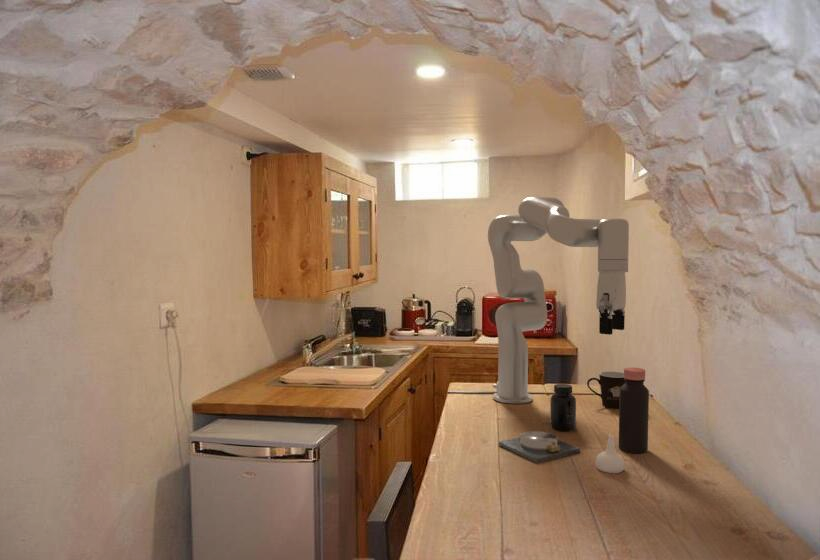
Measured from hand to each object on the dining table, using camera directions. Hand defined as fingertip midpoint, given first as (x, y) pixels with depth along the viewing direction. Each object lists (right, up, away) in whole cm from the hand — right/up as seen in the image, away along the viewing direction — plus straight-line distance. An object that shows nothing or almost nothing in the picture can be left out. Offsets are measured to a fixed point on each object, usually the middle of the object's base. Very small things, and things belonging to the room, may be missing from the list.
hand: (612, 331), depth 156 cm
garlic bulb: (-8, -30, -21) cm, 37 cm away
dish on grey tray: (-21, -29, -8) cm, 36 cm away
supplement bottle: (-11, -28, +8) cm, 31 cm away
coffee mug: (+9, -26, +31) cm, 42 cm away
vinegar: (+2, -29, -8) cm, 30 cm away
